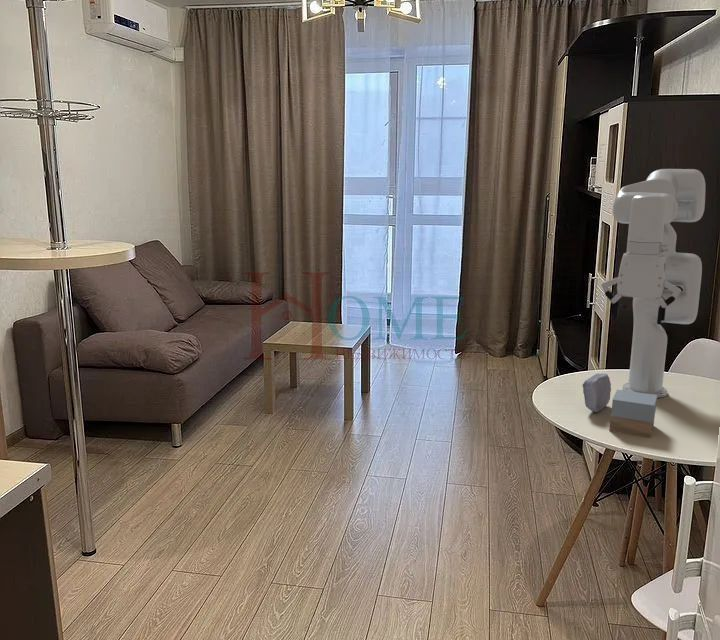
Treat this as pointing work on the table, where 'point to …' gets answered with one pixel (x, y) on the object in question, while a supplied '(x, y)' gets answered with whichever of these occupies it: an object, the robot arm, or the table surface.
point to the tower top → (634, 405)
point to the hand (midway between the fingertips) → (637, 321)
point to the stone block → (597, 392)
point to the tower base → (631, 426)
